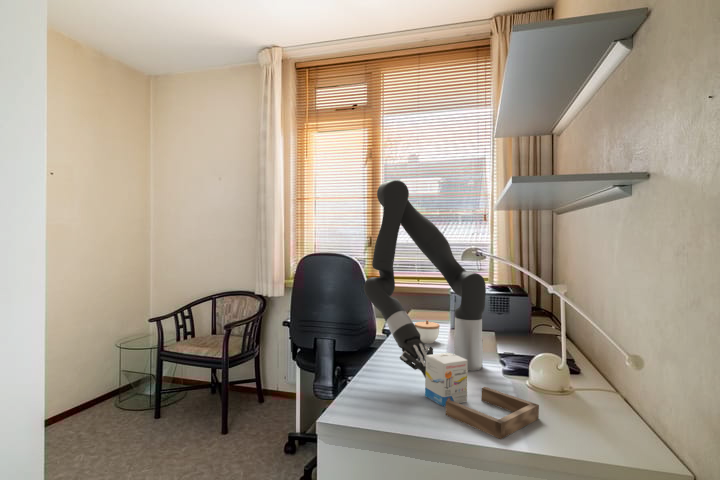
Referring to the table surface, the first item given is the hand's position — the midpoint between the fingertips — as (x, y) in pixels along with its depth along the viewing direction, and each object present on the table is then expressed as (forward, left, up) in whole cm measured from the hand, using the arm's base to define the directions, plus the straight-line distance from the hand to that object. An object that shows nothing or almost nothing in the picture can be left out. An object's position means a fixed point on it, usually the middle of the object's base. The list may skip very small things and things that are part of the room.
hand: (432, 379), depth 116 cm
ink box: (0, +5, -4) cm, 7 cm away
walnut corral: (0, +19, -4) cm, 19 cm away
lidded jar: (-44, -41, -4) cm, 60 cm away
